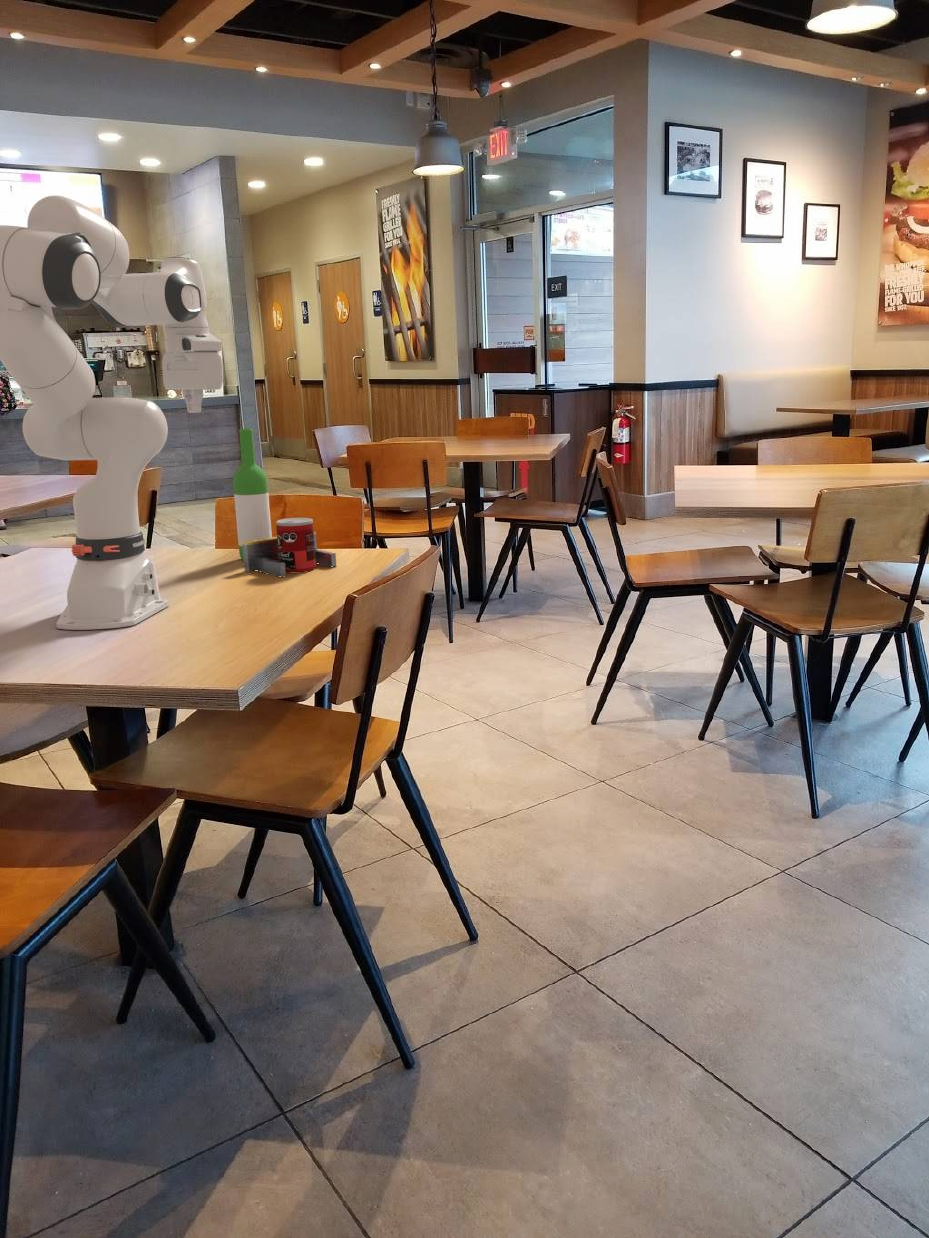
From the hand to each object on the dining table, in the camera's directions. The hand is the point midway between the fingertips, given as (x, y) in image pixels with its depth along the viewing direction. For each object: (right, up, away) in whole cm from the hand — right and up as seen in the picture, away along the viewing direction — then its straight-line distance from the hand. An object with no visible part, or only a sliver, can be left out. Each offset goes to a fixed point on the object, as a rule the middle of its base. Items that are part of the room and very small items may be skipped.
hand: (194, 412), depth 198 cm
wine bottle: (+7, -29, +27) cm, 40 cm away
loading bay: (+18, -31, +15) cm, 39 cm away
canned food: (+19, -32, +14) cm, 40 cm away
